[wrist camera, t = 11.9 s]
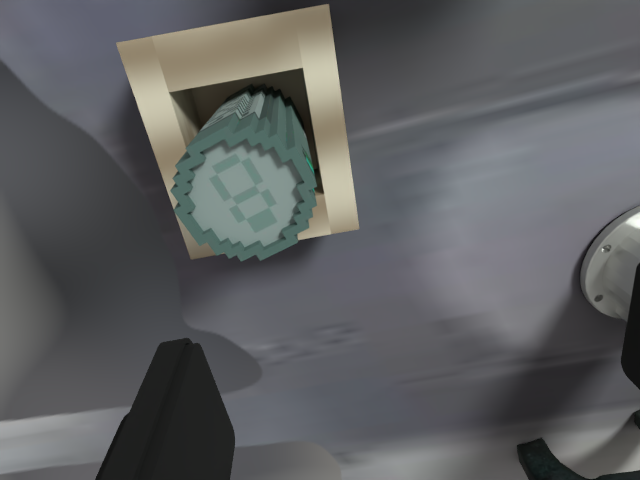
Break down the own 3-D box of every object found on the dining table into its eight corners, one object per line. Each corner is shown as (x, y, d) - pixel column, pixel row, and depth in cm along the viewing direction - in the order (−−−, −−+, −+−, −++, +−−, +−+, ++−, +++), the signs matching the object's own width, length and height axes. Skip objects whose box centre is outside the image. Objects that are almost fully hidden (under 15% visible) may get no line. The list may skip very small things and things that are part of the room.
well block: (346, 195, 36) (359, 229, 30) (206, 220, 36) (191, 259, 30) (319, 9, 30) (328, 3, 24) (150, 40, 30) (115, 42, 24)
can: (247, 180, 34) (223, 279, 20) (203, 110, 31) (144, 170, 18) (315, 144, 33) (336, 223, 20) (276, 69, 30) (271, 101, 17)
